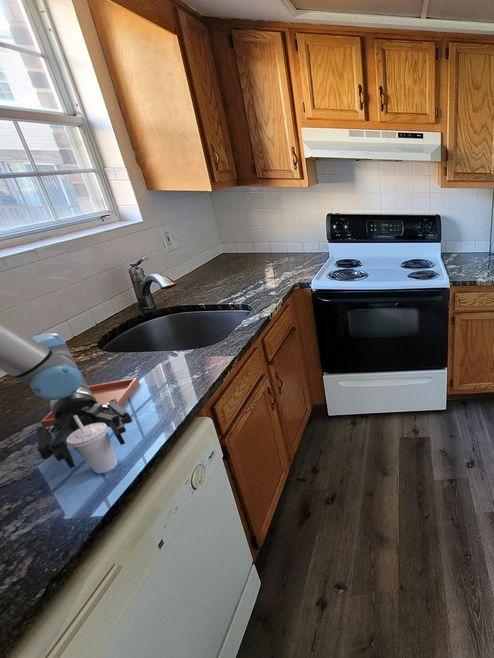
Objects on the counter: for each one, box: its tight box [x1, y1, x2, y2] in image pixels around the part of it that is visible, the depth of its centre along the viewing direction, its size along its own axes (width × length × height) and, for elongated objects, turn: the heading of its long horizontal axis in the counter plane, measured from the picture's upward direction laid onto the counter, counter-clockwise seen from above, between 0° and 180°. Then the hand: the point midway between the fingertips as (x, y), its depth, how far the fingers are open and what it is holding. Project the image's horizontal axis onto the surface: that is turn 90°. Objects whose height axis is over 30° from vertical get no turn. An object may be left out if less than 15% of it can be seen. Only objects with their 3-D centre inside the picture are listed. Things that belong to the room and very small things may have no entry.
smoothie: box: [66, 415, 118, 474], centre depth 77 cm, size 6×6×14 cm
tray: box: [40, 377, 140, 428], centre depth 100 cm, size 15×15×2 cm
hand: (96, 450), depth 74 cm, fingers open, 7 cm apart
